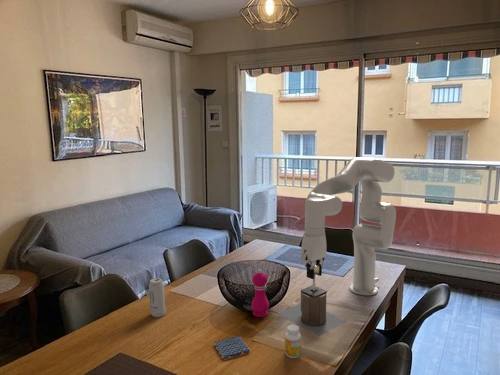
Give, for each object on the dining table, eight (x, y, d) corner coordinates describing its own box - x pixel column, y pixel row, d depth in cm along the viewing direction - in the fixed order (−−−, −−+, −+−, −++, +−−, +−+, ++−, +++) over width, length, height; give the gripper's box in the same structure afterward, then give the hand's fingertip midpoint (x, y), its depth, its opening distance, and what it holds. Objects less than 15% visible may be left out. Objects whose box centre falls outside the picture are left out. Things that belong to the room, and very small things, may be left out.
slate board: (304, 303, 168) (304, 301, 168) (346, 323, 152) (346, 320, 152) (277, 316, 158) (277, 313, 158) (319, 338, 142) (319, 335, 141)
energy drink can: (147, 314, 161) (145, 280, 158) (160, 309, 165) (158, 276, 163) (156, 319, 157) (154, 284, 154) (168, 314, 161) (166, 280, 159)
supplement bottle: (283, 349, 135) (283, 323, 134) (299, 348, 136) (299, 323, 134) (286, 359, 130) (286, 332, 128) (302, 358, 130) (302, 331, 129)
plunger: (312, 309, 157) (313, 260, 154) (326, 315, 152) (327, 265, 148) (300, 314, 153) (300, 265, 149) (314, 321, 147) (315, 270, 144)
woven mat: (223, 362, 129) (223, 357, 129) (213, 346, 139) (212, 341, 138) (251, 354, 133) (251, 349, 133) (239, 339, 143) (239, 334, 143)
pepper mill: (267, 320, 155) (267, 273, 151) (249, 319, 156) (249, 272, 153) (270, 312, 162) (270, 266, 158) (253, 310, 163) (252, 265, 160)
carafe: (309, 310, 160) (310, 282, 158) (331, 320, 152) (332, 291, 150) (293, 318, 154) (293, 289, 152) (314, 329, 146) (315, 298, 144)
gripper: (321, 224, 155) (320, 268, 158) (292, 232, 144) (292, 279, 147) (336, 228, 149) (335, 273, 152) (307, 237, 138) (306, 285, 142)
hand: (314, 275), depth 150 cm, fingers closed on plunger, 3 cm apart
